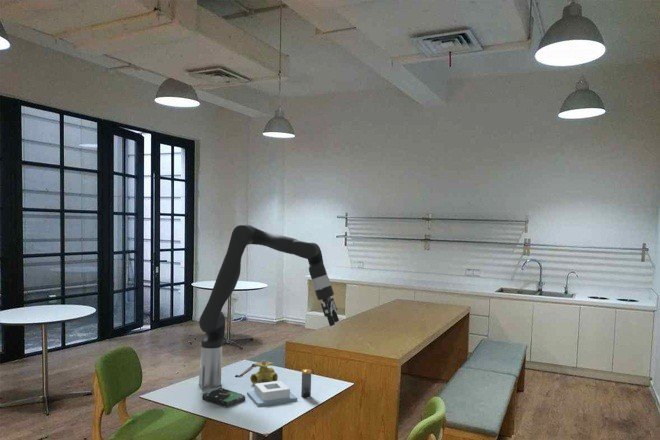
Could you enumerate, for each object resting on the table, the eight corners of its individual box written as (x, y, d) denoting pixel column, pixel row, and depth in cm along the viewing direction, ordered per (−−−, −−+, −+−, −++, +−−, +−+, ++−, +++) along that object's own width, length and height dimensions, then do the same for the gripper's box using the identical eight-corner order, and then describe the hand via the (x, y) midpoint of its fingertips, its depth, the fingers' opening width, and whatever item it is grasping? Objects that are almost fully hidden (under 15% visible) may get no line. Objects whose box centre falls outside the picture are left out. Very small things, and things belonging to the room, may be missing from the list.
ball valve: (265, 377, 222) (265, 356, 222) (282, 381, 216) (283, 359, 217) (247, 384, 211) (248, 362, 211) (265, 388, 206) (266, 365, 206)
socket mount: (257, 406, 183) (258, 394, 184) (246, 394, 197) (247, 383, 197) (297, 400, 191) (297, 389, 191) (284, 389, 204) (284, 378, 205)
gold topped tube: (303, 398, 194) (304, 372, 194) (299, 395, 197) (300, 369, 198) (312, 397, 196) (312, 371, 196) (308, 394, 199) (309, 368, 200)
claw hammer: (247, 380, 219) (247, 378, 219) (234, 377, 220) (234, 375, 220) (264, 367, 239) (264, 365, 239) (252, 365, 241) (252, 363, 241)
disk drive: (201, 401, 190) (227, 409, 181) (201, 394, 190) (227, 401, 182) (220, 394, 198) (245, 401, 190) (220, 387, 198) (246, 394, 190)
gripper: (318, 288, 206) (330, 323, 204) (310, 291, 192) (322, 329, 190) (334, 283, 204) (346, 318, 202) (327, 286, 190) (339, 324, 188)
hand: (334, 323), depth 196 cm, fingers open, 8 cm apart
